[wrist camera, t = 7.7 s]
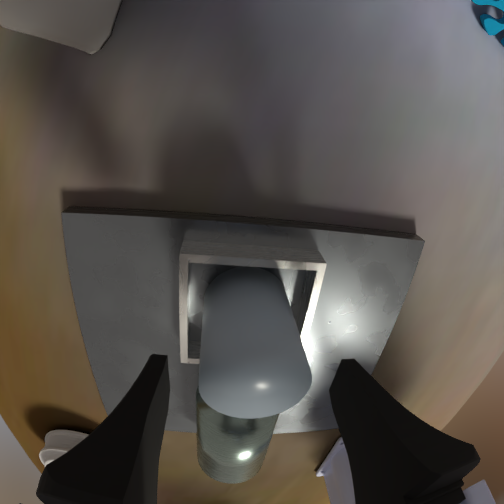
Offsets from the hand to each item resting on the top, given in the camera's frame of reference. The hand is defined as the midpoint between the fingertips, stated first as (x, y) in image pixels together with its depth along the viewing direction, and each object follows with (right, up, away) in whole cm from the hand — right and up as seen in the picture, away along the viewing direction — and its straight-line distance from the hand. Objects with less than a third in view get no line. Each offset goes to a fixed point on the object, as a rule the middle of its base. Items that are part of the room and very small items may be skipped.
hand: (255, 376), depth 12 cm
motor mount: (-1, -1, +8) cm, 8 cm away
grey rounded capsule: (0, +2, +5) cm, 5 cm away
